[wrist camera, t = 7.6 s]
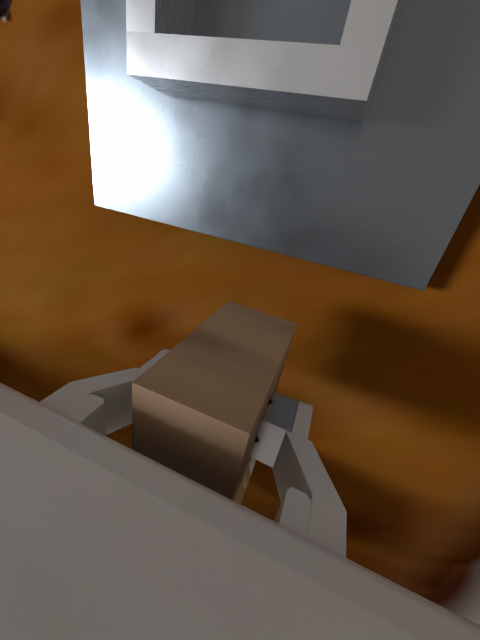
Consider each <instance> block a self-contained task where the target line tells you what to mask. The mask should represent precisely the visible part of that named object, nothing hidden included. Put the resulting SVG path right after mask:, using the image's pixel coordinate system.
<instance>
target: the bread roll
mask: <svg viewBox="0 0 480 640" xmlns="http://www.w3.org/2000/svg"><path fill="white" fill-rule="evenodd" d="M11 4H12V0H0V18H2V20H3V21H4V23H5V21H6V18H7V16H8V14H9V11H10V6H11Z"/></svg>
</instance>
